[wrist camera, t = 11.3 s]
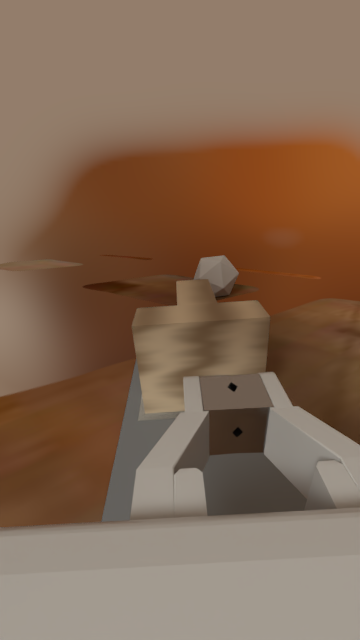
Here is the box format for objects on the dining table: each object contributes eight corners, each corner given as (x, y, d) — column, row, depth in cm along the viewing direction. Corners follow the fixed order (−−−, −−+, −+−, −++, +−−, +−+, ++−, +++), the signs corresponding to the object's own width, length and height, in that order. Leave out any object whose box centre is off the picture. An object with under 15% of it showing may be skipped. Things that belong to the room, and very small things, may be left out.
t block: (145, 413, 28) (131, 326, 24) (152, 351, 39) (144, 283, 35) (262, 406, 28) (270, 317, 24) (237, 345, 39) (239, 276, 35)
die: (229, 288, 63) (203, 254, 62) (253, 278, 56) (224, 239, 54) (206, 310, 60) (178, 275, 58) (229, 302, 52) (198, 262, 51)
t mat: (88, 586, 16) (87, 584, 16) (139, 347, 41) (139, 346, 40) (362, 570, 16) (362, 568, 16) (248, 340, 41) (248, 339, 40)
